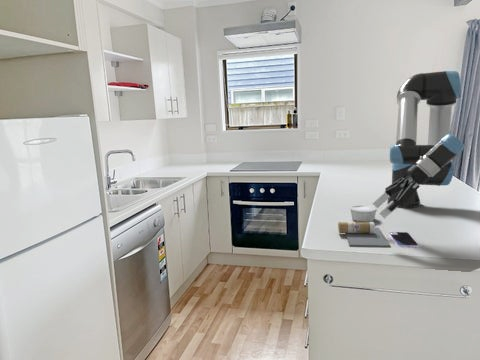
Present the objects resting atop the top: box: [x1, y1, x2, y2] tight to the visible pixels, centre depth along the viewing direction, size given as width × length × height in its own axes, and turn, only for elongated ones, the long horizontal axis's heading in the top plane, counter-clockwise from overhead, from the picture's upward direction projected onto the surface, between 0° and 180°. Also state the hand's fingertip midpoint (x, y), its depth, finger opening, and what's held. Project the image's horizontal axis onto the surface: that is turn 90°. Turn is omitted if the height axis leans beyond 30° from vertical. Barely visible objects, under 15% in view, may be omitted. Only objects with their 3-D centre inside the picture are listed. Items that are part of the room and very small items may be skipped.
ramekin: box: [349, 204, 377, 223], centre depth 159 cm, size 11×11×5 cm
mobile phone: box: [388, 231, 420, 248], centre depth 132 cm, size 8×1×15 cm
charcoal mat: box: [344, 227, 392, 248], centre depth 137 cm, size 20×14×1 cm
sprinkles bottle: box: [337, 221, 376, 234], centre depth 140 cm, size 5×5×13 cm
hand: (377, 210), depth 135 cm, fingers open, 13 cm apart
